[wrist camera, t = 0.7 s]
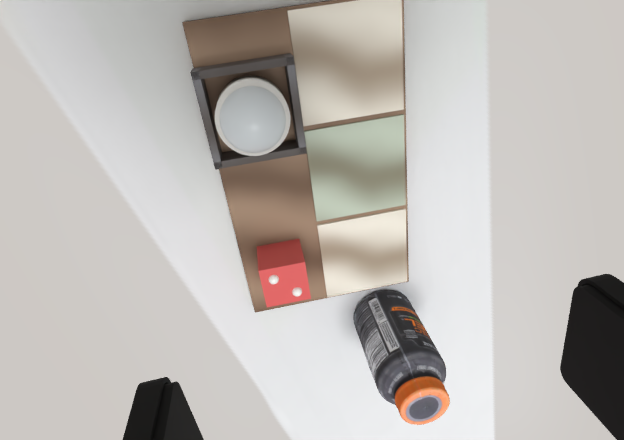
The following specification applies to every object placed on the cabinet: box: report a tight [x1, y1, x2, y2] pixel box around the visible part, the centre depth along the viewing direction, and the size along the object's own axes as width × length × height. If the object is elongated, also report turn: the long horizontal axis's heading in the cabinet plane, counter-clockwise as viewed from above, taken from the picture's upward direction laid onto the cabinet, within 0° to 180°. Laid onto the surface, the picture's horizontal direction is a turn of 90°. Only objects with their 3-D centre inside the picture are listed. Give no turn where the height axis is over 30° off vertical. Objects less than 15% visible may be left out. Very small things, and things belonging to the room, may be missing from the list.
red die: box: [257, 239, 311, 308], centre depth 34 cm, size 4×4×4 cm
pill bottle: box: [354, 290, 450, 425], centre depth 36 cm, size 6×6×11 cm
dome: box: [215, 75, 291, 156], centre depth 26 cm, size 5×5×4 cm
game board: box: [182, 0, 409, 312], centre depth 32 cm, size 24×14×3 cm, turn 7°
